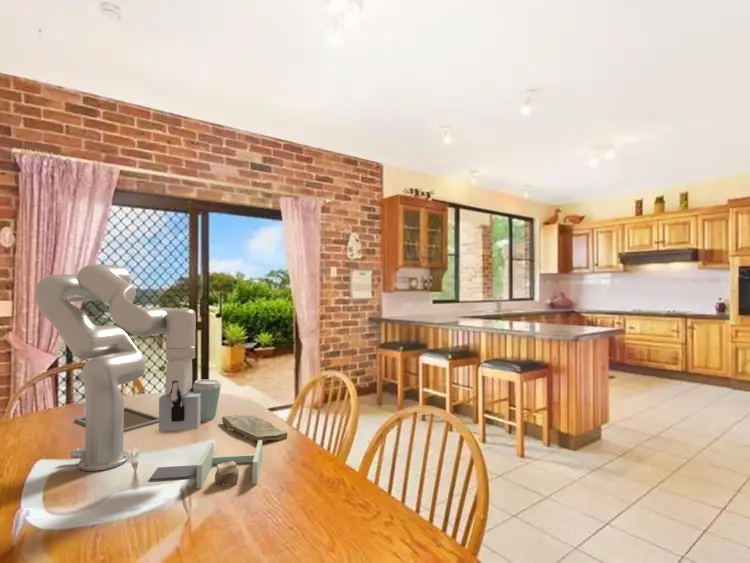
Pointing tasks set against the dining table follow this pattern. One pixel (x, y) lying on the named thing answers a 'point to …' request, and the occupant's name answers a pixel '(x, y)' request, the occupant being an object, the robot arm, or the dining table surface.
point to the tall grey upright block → (190, 413)
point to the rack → (210, 459)
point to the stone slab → (254, 427)
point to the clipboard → (131, 419)
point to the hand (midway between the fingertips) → (180, 418)
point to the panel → (174, 472)
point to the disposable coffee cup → (207, 397)
